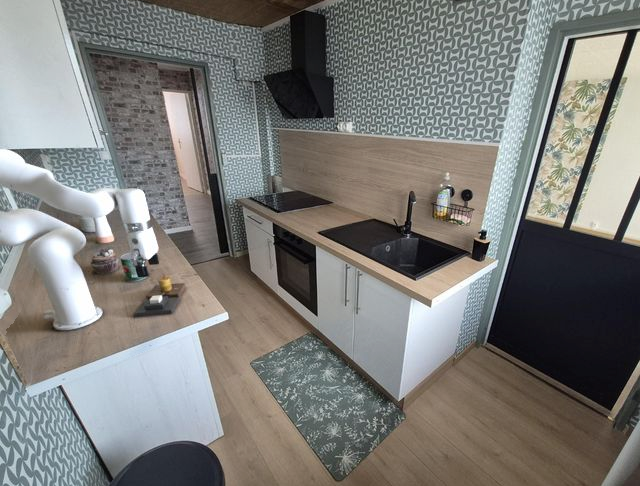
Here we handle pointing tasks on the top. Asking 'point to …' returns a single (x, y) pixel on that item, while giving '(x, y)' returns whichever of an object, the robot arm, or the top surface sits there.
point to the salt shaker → (103, 230)
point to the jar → (87, 223)
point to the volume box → (174, 292)
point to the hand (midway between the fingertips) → (149, 270)
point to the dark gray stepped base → (157, 307)
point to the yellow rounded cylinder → (165, 283)
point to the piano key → (155, 299)
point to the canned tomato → (130, 268)
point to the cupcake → (104, 261)
